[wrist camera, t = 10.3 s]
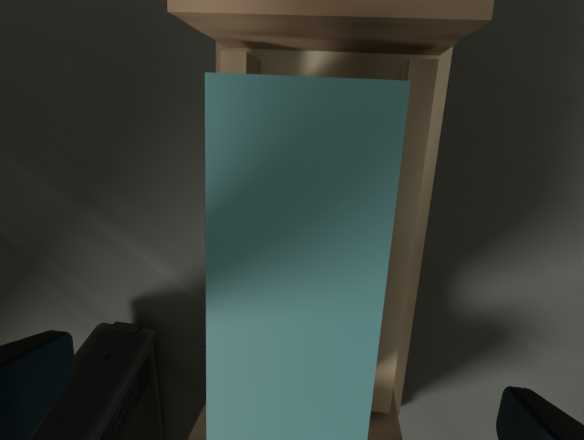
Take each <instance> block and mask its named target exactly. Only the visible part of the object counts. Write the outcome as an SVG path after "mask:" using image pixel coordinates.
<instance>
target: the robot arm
mask: <svg viewBox="0 0 584 440" xmlns="http://www.w3.org/2000/svg"><path fill="white" fill-rule="evenodd" d="M74 370H75V359H74V349H73V339H72V336H71V334H70V333H68V332H63V331H55V330H49V331H46V332H43V333H39V334H36V335H33V336H30V337H27V338H24V339H20V340H17V341H14V342H11V343H8V344H5V345H1V346H0V440H30V439H31V437H32V436H33V434H34V433H35V432H36V430H37V429H38V427H39V426H40V424H41V423H42V421H43V420H44V418H45V417H46V415H47V414H48V412H49V411H50V409H51V408H52V406H53V405H54V403H55V402H56V400H57V399H58V397H59V396H60V394H61V393H62V391H63V390H64V388H65V387H66V385H67V384H68V382H69V381H70V379H71V377H72V375H73V373H74ZM496 431H497V436H498V439H499V440H584V425H583V424H581V423H580V422H578V421H577V420H575V419H574V418H572V417H571V416H569V415H568V414H566V413H565V412H563V411H562V410H560V409H559V408H557V407H556V406H554V405H553V404H551V403H550V402H548V401H547V400H546V399H544V398H543V397H541V396H540V395H538V394H537V393H535V392H534V391H532V390H530V389H527V388H520V387H512V386H508V387H506V388H505V389H504V391H503V394H502V399H501V403H500V408H499V412H498V417H497V422H496Z"/></svg>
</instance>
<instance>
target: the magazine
mask: <svg viewBox="0 0 584 440" xmlns="http://www.w3.org/2000/svg"><path fill="white" fill-rule="evenodd" d="M155 341H156V337H155V333H154V330H152V329H145V328H143V327H142V325H137V324H130V323H123V322H115V323H114V324H108V323H101V324H99V325H97V326H96V328H95V329H94V330H93V332H92V333H91V334H90V335H89V337H88V338H87V339H86V341H85V342H84V343H83V345H82V346H81V347H80V348H79V350H78V351H77V352H76V354H75V355H74V359H75V370H74V373H73V375H72V377H71V379H70V381H69V382H68V384H67V385H66V387H65V388H64V390H63V391H62V393H61V394H60V396H59V397H58V399H57V400H56V402H55V403H54V405H53V406H52V408H51V409H50V411H49V412H48V414H47V415H46V417H45V418H44V420H43V421H42V423H41V424H40V426H39V427H38V429H37V430H36V432H35V433H34V434H33V436H32V437H31V439H30V440H164V439H163V428H162V419H161V409H160V400H159V391H158V381H157V372H156V362H155V353H154V342H155Z"/></svg>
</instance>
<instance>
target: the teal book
mask: <svg viewBox="0 0 584 440" xmlns="http://www.w3.org/2000/svg"><path fill="white" fill-rule="evenodd" d="M410 84H411V81H405V80H381V79H357V78H333V77H309V76H285V75H261V74H237V73H213V72H205V223H206V440H367V438H368V430H369V422H370V413H371V405H372V397H373V389H374V380H375V372H376V364H377V356H378V347H379V339H380V331H381V323H382V315H383V306H384V298H385V290H386V282H387V273H388V265H389V257H390V249H391V241H392V232H393V224H394V216H395V208H396V199H397V191H398V183H399V175H400V167H401V158H402V150H403V142H404V134H405V125H406V117H407V109H408V101H409V92H410Z"/></svg>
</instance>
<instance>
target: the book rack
mask: <svg viewBox="0 0 584 440" xmlns="http://www.w3.org/2000/svg"><path fill="white" fill-rule="evenodd" d="M494 2H495V0H167V11H168V12H169V13H171V14H172V15H174V16H175V17H177V18H179V19H180V20H182V21H184V22H185V23H187V24H189V25H190V26H192V27H194V28H195V29H197V30H199V31H200V32H202V33H203V34H205V35H207V36H208V37H210V38H212V39H213V40H215V41H216V73H237V74H261V75H285V76H309V77H333V78H357V79H381V80H405V81H411V84H410V92H409V101H408V109H407V117H406V125H405V134H404V142H403V150H402V158H401V167H400V175H399V183H398V191H397V199H396V208H395V216H394V224H393V232H392V241H391V249H390V257H389V265H388V273H387V282H386V290H385V298H384V306H383V315H382V323H381V331H380V339H379V347H378V356H377V364H376V372H375V380H374V389H373V397H372V405H371V413H370V422H369V430H368V438H367V440H402V436H401V430H400V425H399V413H400V406H401V400H402V393H403V386H404V379H405V372H406V366H407V359H408V352H409V345H410V338H411V331H412V325H413V318H414V311H415V304H416V297H417V290H418V284H419V277H420V270H421V263H422V256H423V250H424V243H425V236H426V229H427V222H428V215H429V209H430V202H431V195H432V188H433V181H434V175H435V168H436V161H437V154H438V147H439V140H440V134H441V127H442V120H443V113H444V106H445V99H446V93H447V86H448V79H449V72H450V65H451V59H452V52H453V46H454V45H456V44H457V43H459V42H460V41H462V40H463V39H464V38H466V37H467V36H469V35H470V34H472V33H473V32H475V31H476V30H478V29H479V28H481V27H482V26H484V25H485V24H487V23H488V22H489V21H491V20H492V14H493V8H494ZM188 440H206V403H205V405H204V407H203V409H202V411H201V413H200V415H199V417H198V419H197V421H196V423H195V425H194V427H193V429H192V431H191V433H190V435H189V437H188Z"/></svg>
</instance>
